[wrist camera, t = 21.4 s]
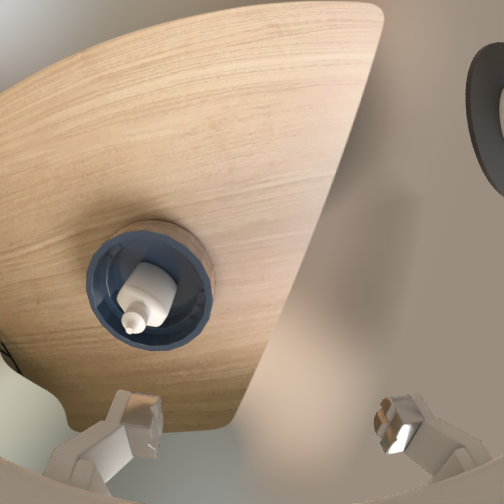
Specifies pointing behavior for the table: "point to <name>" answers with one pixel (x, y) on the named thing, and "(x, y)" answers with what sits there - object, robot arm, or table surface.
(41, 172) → the table surface
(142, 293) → the eye dropper bottle
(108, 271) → the bowl
